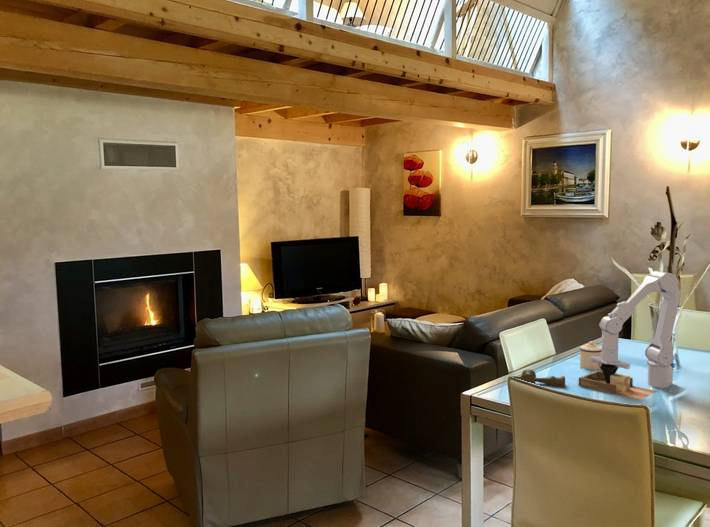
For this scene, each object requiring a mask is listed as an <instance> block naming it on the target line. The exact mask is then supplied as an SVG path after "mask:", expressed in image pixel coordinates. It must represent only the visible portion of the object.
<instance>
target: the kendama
mask: <svg viewBox="0 0 710 527" xmlns="http://www.w3.org/2000/svg"><path fill="white" fill-rule="evenodd" d="M512 377H514V378H513V379H516V378H517V380H519V379H521V380H524V381H527V382H531V383H534V384H535V385H536V382H537V383H541V384H544V385H548V386H550V387H559V388H563V389H564V388H565V387H566V376H565V375H562V376H560V377H558V376H557V377H556V376H554V375H552V376H548V377H537V374H536V372H535V371H534V370H533V369H529V368H528V369H524V370H523V371H522V372H521V375H520V376H518V375H517V376H516V375H512V376H511V378H512Z"/></svg>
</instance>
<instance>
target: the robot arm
mask: <svg viewBox="0 0 710 527" xmlns="http://www.w3.org/2000/svg"><path fill="white" fill-rule="evenodd" d="M679 283H680V280H679V278H678V277H677V276H676V275H675V274H674V273H671V272H665V271H660V270H657V269H656V270H652V271H651V272H650V273H648V275H647V276H645V277H644V279H643V282H641V283H640V285H639V286H638V287H637V289H636V290H635V291H634V292H633V293H632V294H631V295H630V296H629V298H628V299H627V300H624V301H621V302H618V303H616V307H614V309H613V310H612V311H611V312H609V313H608V314H607V315H606V316H604V317H602V319H600V322H599V323H598V325H599V328H600V329H601V347H602V356H601V357H595V356H592V357H590V362H596V363H601V364H602V365H601V366H600V368H601V369H600V371H602V372H603V374H604V377H605V380H606V383H608V384H610V375H613V374H616V373H617V371H618V369H619V368H622V369H624V370H630V369H631V363H628V362H626V361H622V360H619V335H620V334H619V333H620V332H621V331H622V329H623V325H624V323H625V322H626V321H627V320H628V319H629V318H630V317H631V316H632V315H633V314H634V313H635V311H636V310H635V307H636V306H638V304H640V303H641V301H643V300H645V298H646V297H648V295H650V293H658V292H659V294H660V295H661V296H662V301H661V307H660V311H659V317H658V320H657V324H656V325H657V326H656V329H655V334H654V337H653V338H651V339H650V340H649V342H648V343H649V344H648V345H647V347H646V348H645V350H644V356H645V357H646V358H647V361H648V362H647V385H648V386H649V387H652V388H657V389H658V388H659V389H665V388H669V387H670V386H671V385H673V383H674V382H673V381H674V380H673V378H674V369H673V367H672V365H671V364H673V362H674V360H675V355H674V345H673V344H672V342H671V340H672V336H673V331H674V326H675V323H676V317H677V314H678V311H679V310H678V308H679V305H680V300H681V294H682V293H681V291H680V286H679Z"/></svg>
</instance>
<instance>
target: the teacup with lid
mask: <svg viewBox="0 0 710 527" xmlns="http://www.w3.org/2000/svg"><path fill="white" fill-rule="evenodd" d="M579 350H580V352H579V354H580V357H579V360H580V362H579V363H580V364H579V368H580V369H587V370H588V369H589V370H601V368H600V366H601V365H602V364H601V363H596V362H590V357H592V356H595V357H601V356H602V346H599V345H598V344H595V342H594V341H591V340H590V341H589V342H588V343H586V344H584V345H581V346H579Z"/></svg>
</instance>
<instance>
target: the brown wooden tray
mask: <svg viewBox="0 0 710 527" xmlns="http://www.w3.org/2000/svg"><path fill="white" fill-rule="evenodd" d="M633 383H634V380H633V377H630V389H628V390H626V391H624V392H622V391H618V390H616V385H613V384H608V383H606V380H605V377H604V374H603V372H602V370H595V371H593V372H590V373H587V374H585V375H581V376H580V377H578V386H579V387H583V388H588V389H591V390H596V391H600V392H605V393H609V394H613V395H617V396H622V397H625V398H630V399H634V400H637V401H641V400H643V399H644V398H646V397H648V396H651V395H653V394H655V393H657V392H658V390H653V389H648V388H645V387H640V386H635V385H634V384H633Z"/></svg>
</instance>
